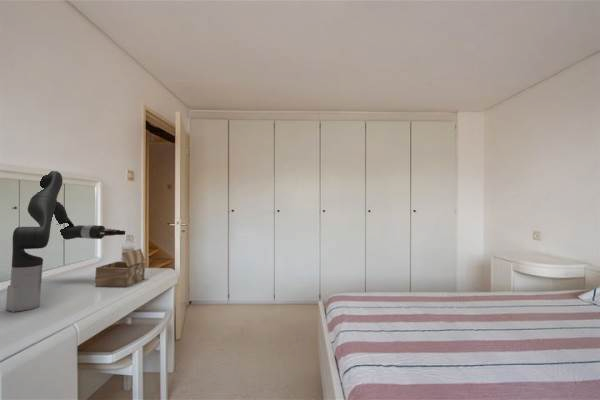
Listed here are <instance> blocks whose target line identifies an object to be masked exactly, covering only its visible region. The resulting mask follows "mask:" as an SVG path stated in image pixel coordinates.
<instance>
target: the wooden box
mask: <svg viewBox="0 0 600 400" xmlns="http://www.w3.org/2000/svg"><path fill="white" fill-rule="evenodd" d="M145 272H146V261H144V262H141V263H138V264H135V265H132V266H129V267H127V265H126V262H122V261H115V262H112V263H108V264H104V265H100V266H96V267H95V276H94V277H95V278H94V279H95V280H94V282H95V287H97V288H98V287H101V288H104V287H105V288H128V287H129V286H132V285H134V284H136V283H139V282H142V281H144V280H145Z"/></svg>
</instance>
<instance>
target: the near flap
mask: <svg viewBox="0 0 600 400" xmlns="http://www.w3.org/2000/svg"><path fill="white" fill-rule="evenodd" d="M122 255H123V257H124V260H125V262H126V265H127V267H129V266H132V265H135V264H138V263H141V262H146V259H145V256H144V253H143V251H142V248H138V249H135V250H133V251H129V252H124V253H122V252H121V256H122Z"/></svg>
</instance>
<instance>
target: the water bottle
mask: <svg viewBox="0 0 600 400" xmlns="http://www.w3.org/2000/svg"><path fill="white" fill-rule="evenodd" d="M132 236H133V235H132V234H125V242H124V243H123V244H122V246H121V257H120V260H121V262H125V260H124V257H123V255H122V253H124V252H129V251H133V250H136V249H135V248H136V246H135V244H134V242H133V237H132Z"/></svg>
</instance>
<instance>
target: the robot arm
mask: <svg viewBox="0 0 600 400" xmlns="http://www.w3.org/2000/svg"><path fill="white" fill-rule="evenodd" d="M50 171H51V172H50V173H49V174H48V175H45V176H43V177H42V179H41V181H40V186H41V187H42V188H44V189H43V190H41V191H40V192H37V193H35V194H33V196H32V197H31V198H30V200H29V203H28V205H27V212H28V214H29V216H30V217H31V218H32V219H33V220H35V222H36V223H37V224H38V226H17V227H16V228H15V229H14V231H13V232H12V242H11V243H12V252H11V253H12V257H11V271H10V285H8V286H7V288H6V289H7V290H6V291H7V292H6V304H5V310H6V311H9V312H10V313H11V312H12V313H15V312H23V311H28V310H33V309H36V308H39V307H40V305H41V294H42V293H41V292H42V278H43V266H44V265H43V264H44V258H43V257H40V256H39V255H38V256H37V255H32V254H30V253H29V252H27V251H25V250H34V249H35V250H36V249H38V250H39V249H44V248H46V247H47V245H48V243H49V241H50V235H51V228H52V217H53V214H54V215H55V218H56V220H57V221H58V223H59V224H58V225H61V224H63V223H68V224H69V226H67V227H65V228H64V229H61V230H60V232H61V235H62V236H63V238H64V239H66V240H73V239H77V238H78V239H87V240H91V239H92V240H101V239H103V238H105V237H111V236H124V235H125V236H126V230H120V229H115V228H114V229H111V228H106V227H105V226H104V225H92V224H89V225H80V224H79V225H74V223H73V222H72V221H71V219H70V218H69V216H68V213H67V211H66V208H65V206H64V205H63V204H62V203H61V202H59V201H58V195H59V193H60V190H61V188H62V185H63V176H62V174H61V173H60V172H59V171H57V170H50ZM57 201H58V202H57ZM66 240H65V241H66Z"/></svg>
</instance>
